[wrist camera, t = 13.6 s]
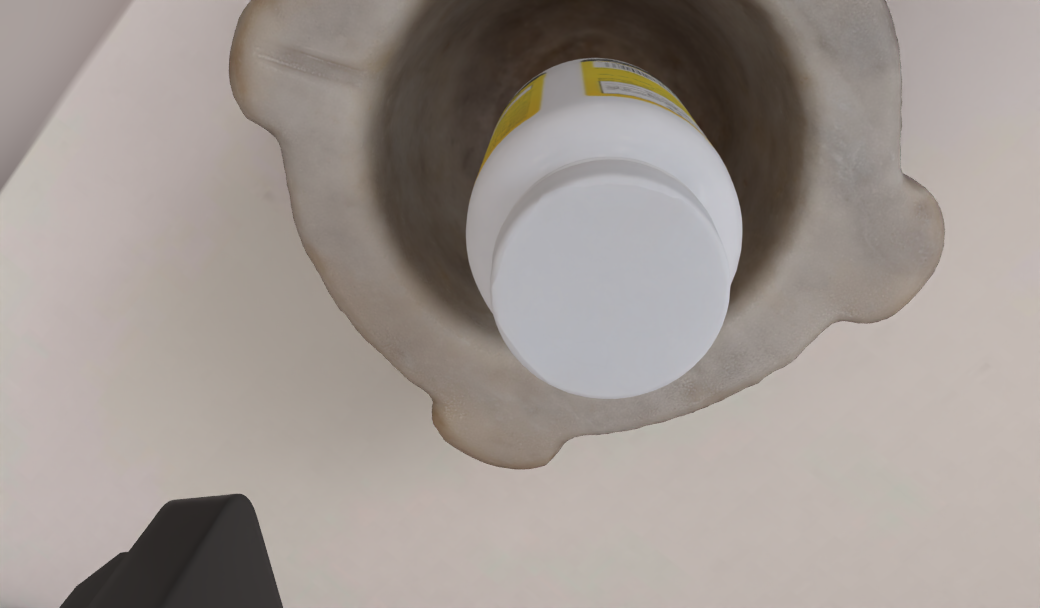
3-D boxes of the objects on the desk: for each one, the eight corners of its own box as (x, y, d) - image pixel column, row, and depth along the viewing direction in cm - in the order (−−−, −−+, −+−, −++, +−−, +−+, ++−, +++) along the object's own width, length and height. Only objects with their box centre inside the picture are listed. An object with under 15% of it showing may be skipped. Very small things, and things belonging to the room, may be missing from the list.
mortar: (886, 224, 34) (994, 316, 25) (473, 387, 37) (444, 518, 28) (728, -253, 29) (796, -340, 20) (264, -14, 32) (152, -2, 23)
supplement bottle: (521, 279, 25) (492, 464, 16) (466, 86, 24) (399, 174, 14) (715, 232, 25) (799, 400, 16) (674, 30, 23) (742, 85, 14)
